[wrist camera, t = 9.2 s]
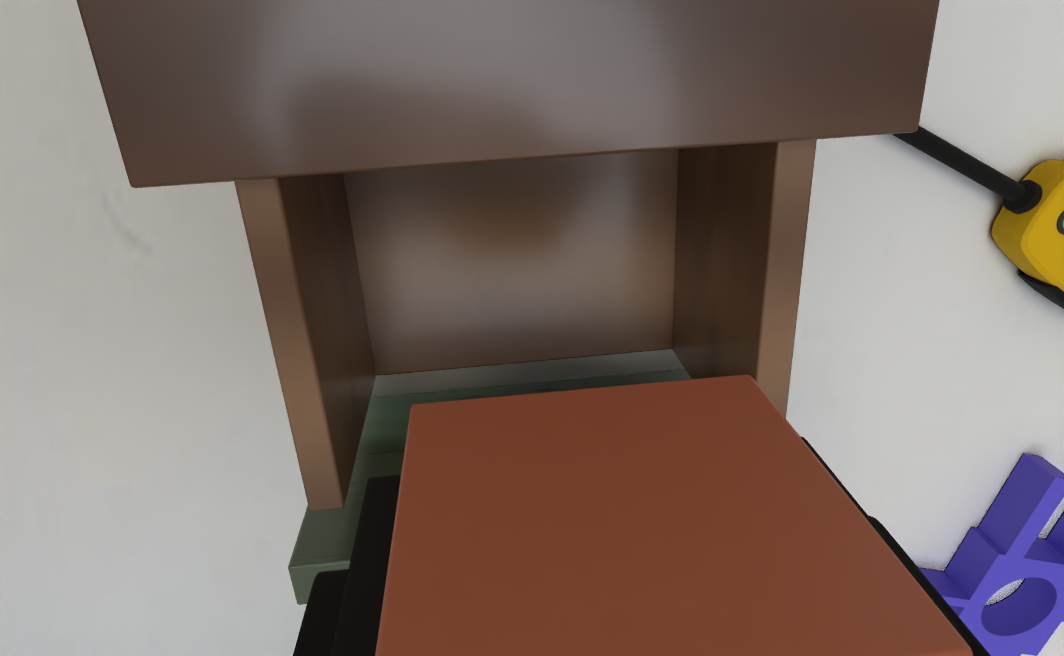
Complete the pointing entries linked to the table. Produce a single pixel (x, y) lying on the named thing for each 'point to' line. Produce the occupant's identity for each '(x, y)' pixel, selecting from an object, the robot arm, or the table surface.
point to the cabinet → (490, 79)
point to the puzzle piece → (1011, 565)
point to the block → (638, 534)
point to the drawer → (513, 290)
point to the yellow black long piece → (1016, 212)
